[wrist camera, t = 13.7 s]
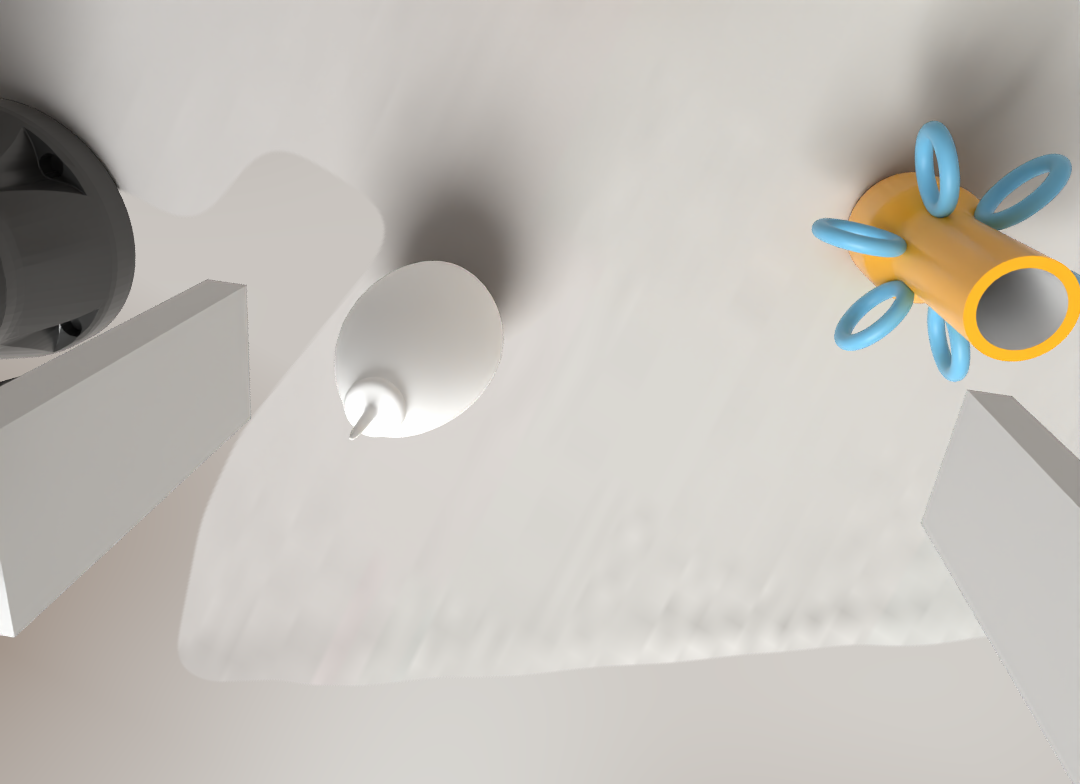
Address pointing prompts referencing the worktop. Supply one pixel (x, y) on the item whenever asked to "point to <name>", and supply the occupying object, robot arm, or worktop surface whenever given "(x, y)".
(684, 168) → the worktop surface
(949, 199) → the cylinder
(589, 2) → the worktop surface
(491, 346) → the sauce bottle
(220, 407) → the robot arm
